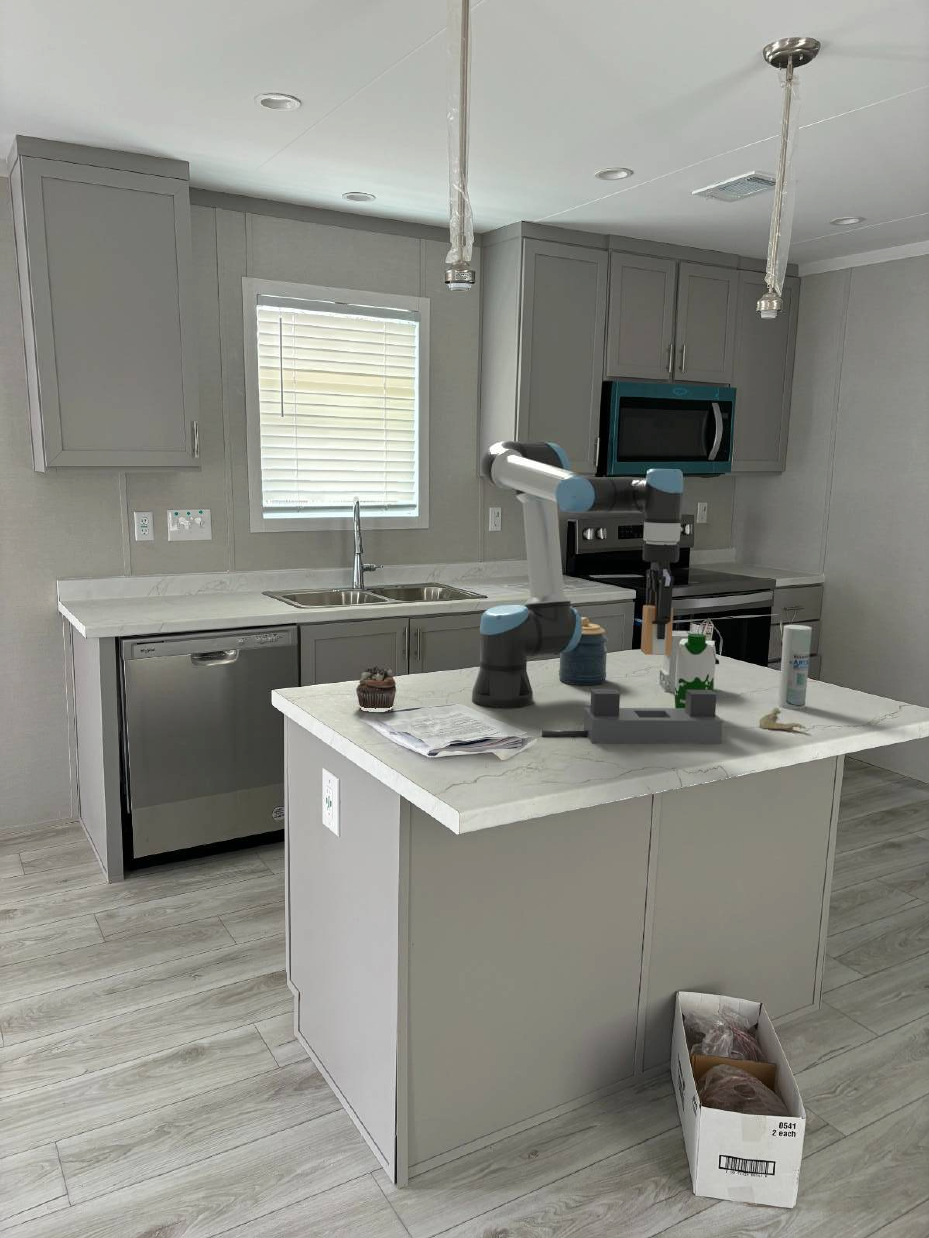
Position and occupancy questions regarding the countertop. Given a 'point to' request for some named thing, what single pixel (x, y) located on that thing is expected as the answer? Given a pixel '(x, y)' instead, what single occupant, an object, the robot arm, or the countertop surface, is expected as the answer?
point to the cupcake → (376, 689)
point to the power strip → (649, 721)
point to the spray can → (794, 666)
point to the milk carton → (694, 666)
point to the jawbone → (769, 723)
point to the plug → (648, 631)
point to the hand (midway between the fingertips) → (655, 651)
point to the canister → (585, 657)
